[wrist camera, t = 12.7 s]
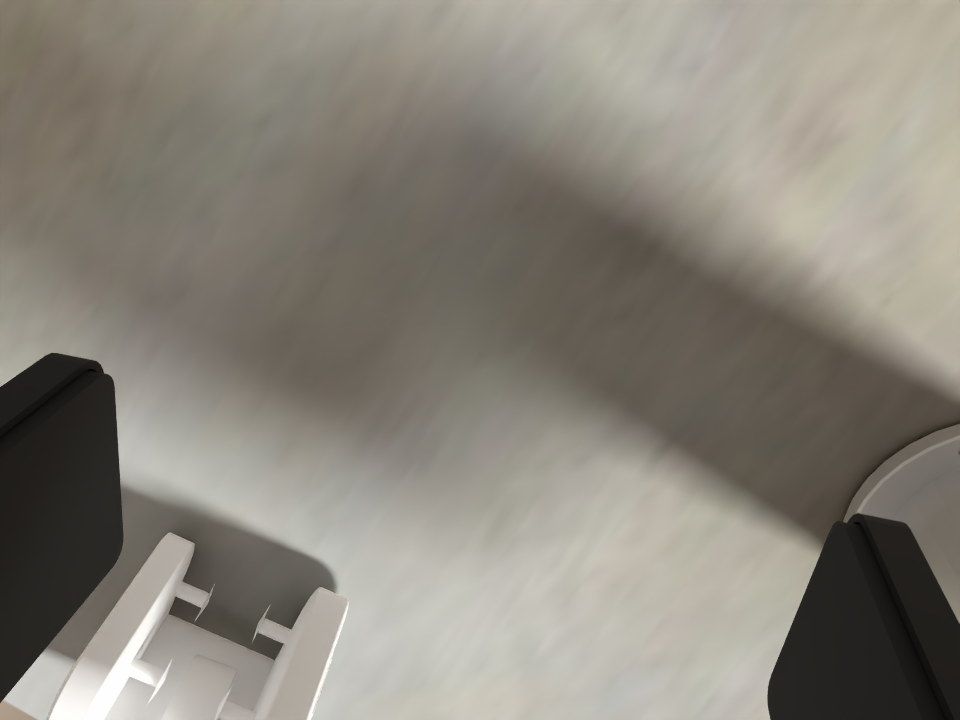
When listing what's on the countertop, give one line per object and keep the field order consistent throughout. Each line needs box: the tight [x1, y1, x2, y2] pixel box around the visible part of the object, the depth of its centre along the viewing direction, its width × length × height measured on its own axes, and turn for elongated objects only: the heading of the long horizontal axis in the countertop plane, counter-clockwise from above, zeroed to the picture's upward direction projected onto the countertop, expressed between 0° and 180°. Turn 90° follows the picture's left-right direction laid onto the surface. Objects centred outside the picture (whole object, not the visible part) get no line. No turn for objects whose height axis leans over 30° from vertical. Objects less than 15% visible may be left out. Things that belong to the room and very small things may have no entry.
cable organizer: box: [47, 533, 349, 720], centre depth 42 cm, size 15×11×12 cm
